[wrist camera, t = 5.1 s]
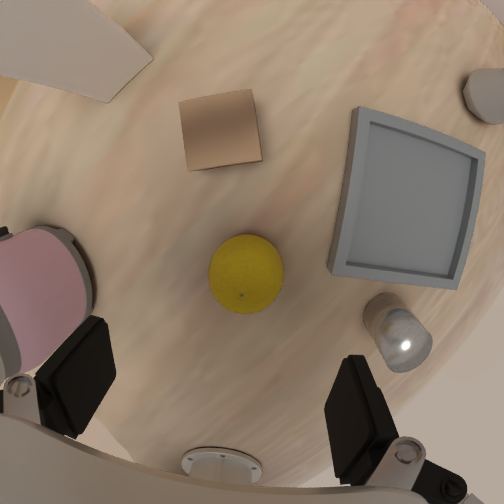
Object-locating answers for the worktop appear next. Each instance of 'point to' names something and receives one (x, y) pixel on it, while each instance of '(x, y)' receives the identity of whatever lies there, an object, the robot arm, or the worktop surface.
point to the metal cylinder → (397, 332)
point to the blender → (39, 295)
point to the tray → (405, 203)
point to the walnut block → (220, 130)
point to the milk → (68, 47)
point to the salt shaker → (486, 95)
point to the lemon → (246, 274)
